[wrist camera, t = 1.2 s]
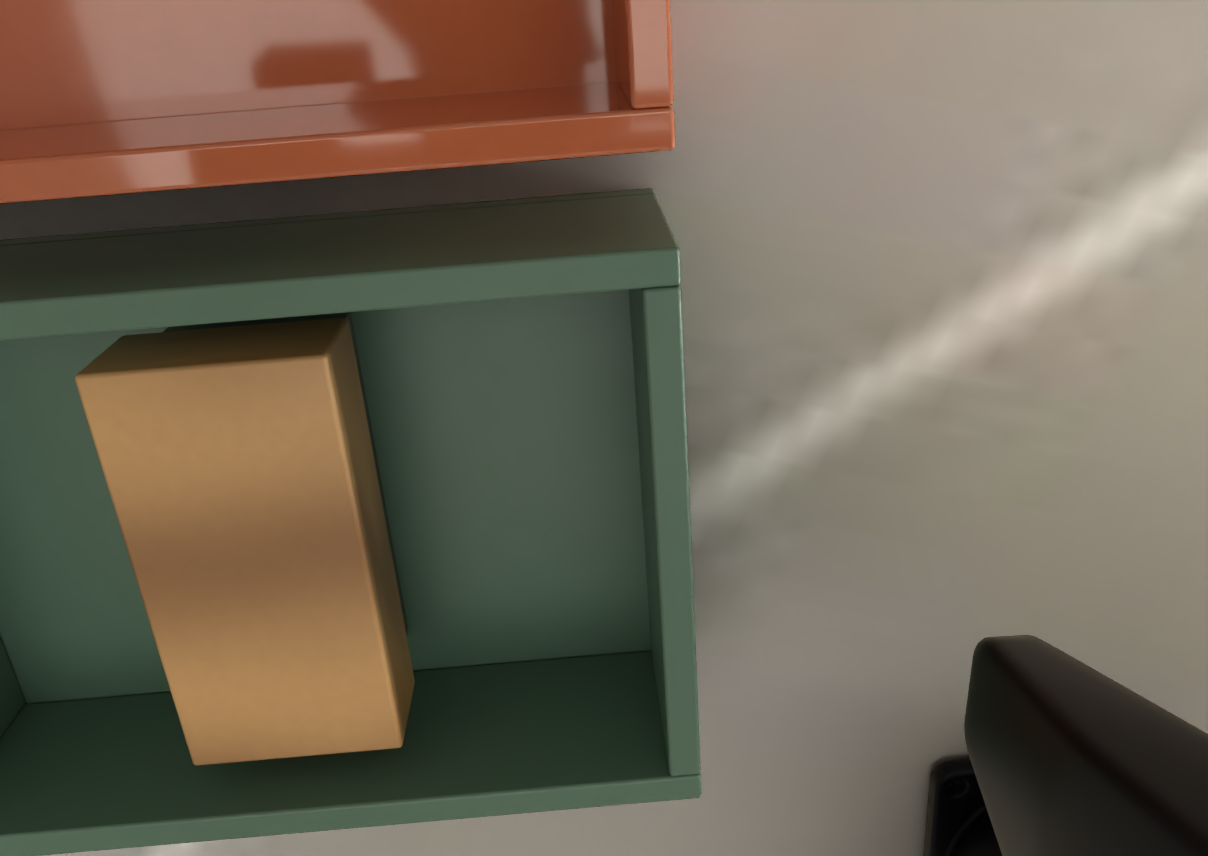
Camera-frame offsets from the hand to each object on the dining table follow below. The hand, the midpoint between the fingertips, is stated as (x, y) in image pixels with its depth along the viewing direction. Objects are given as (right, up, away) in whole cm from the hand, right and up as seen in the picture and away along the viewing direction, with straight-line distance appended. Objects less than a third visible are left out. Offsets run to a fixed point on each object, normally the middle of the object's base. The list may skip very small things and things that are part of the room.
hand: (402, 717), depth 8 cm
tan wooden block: (-5, +1, +13) cm, 14 cm away
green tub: (-5, +1, +13) cm, 14 cm away
